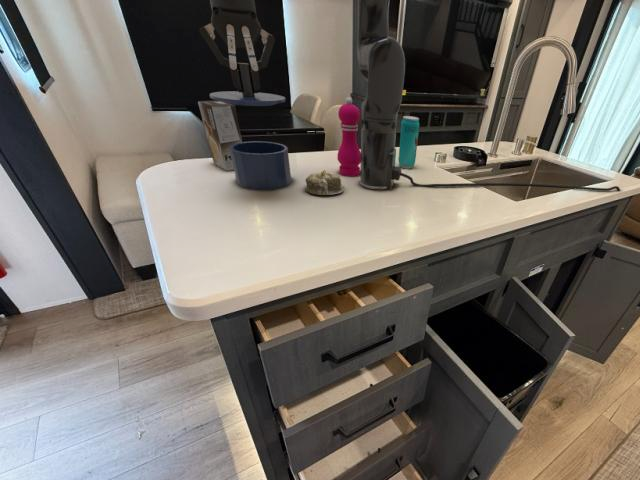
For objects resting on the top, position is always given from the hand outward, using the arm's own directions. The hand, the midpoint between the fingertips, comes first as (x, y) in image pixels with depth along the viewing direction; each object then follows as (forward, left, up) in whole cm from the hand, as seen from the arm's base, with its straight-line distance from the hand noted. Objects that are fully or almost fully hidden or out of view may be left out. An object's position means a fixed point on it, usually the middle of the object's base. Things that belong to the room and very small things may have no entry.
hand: (248, 91), depth 67 cm
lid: (0, 0, -1) cm, 1 cm away
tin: (+4, -9, -21) cm, 24 cm away
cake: (-13, -8, -22) cm, 26 cm away
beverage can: (-31, -41, -22) cm, 55 cm away
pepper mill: (-15, -26, -22) cm, 37 cm away
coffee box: (+19, -18, -22) cm, 34 cm away
